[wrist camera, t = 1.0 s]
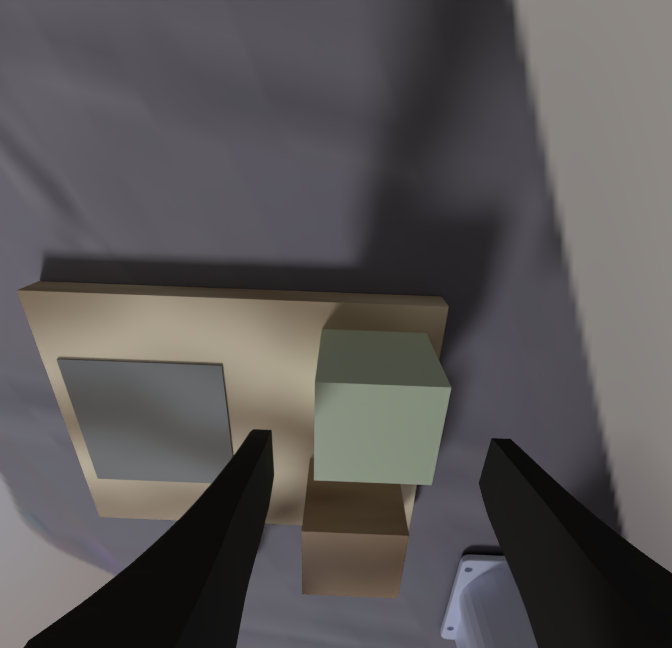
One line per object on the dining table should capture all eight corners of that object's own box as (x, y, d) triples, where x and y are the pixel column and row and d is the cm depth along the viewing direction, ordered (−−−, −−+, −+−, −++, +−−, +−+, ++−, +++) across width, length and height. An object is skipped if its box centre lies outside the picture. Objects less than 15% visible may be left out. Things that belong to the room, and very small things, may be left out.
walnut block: (388, 520, 21) (397, 598, 17) (309, 517, 21) (302, 594, 17) (396, 462, 19) (409, 535, 15) (309, 458, 19) (301, 531, 15)
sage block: (413, 416, 17) (431, 485, 14) (320, 412, 17) (314, 480, 14) (426, 333, 15) (451, 387, 12) (321, 329, 16) (314, 382, 12)
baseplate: (405, 511, 22) (409, 531, 21) (111, 499, 22) (98, 518, 21) (441, 296, 16) (449, 307, 15) (38, 281, 16) (14, 291, 15)
